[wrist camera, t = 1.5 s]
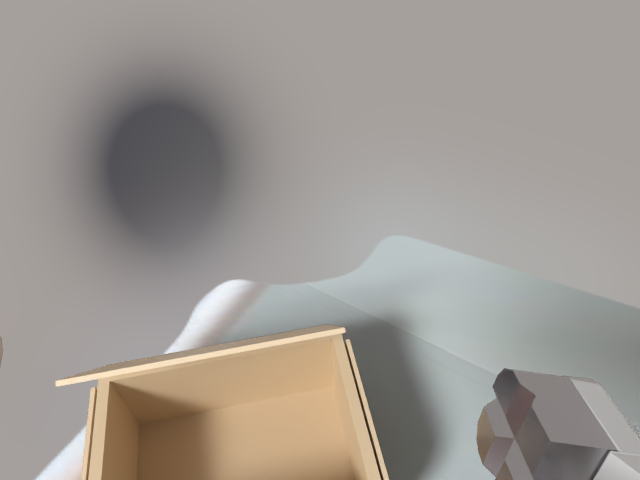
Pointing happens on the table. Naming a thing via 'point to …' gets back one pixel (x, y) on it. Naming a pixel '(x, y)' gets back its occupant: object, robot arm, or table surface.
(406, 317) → the table surface
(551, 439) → the robot arm
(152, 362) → the flap
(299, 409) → the carton
